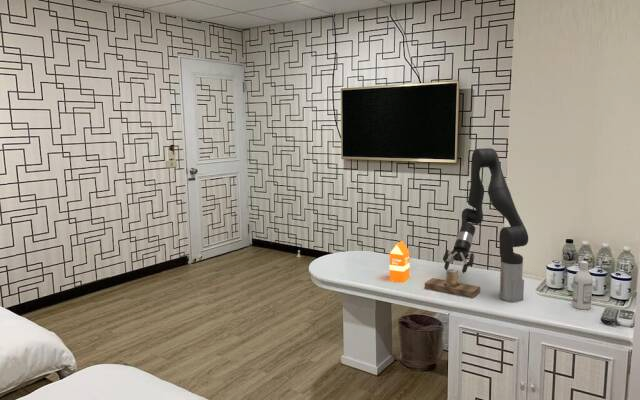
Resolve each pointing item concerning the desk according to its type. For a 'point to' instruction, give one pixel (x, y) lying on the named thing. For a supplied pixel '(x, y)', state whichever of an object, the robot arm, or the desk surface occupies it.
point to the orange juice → (399, 263)
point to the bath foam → (582, 287)
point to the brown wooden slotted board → (452, 288)
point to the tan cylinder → (452, 278)
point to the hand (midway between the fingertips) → (454, 270)
